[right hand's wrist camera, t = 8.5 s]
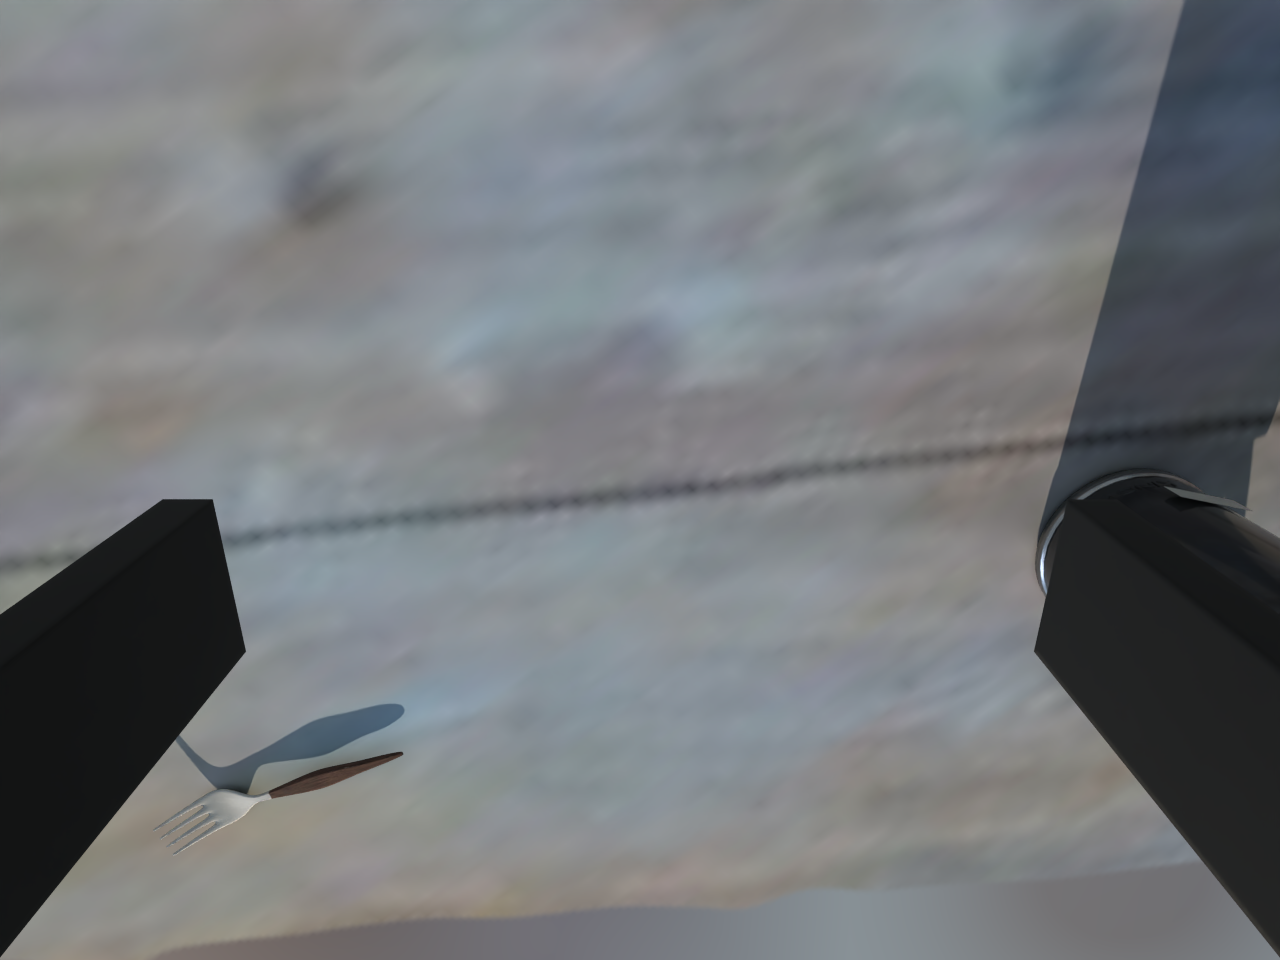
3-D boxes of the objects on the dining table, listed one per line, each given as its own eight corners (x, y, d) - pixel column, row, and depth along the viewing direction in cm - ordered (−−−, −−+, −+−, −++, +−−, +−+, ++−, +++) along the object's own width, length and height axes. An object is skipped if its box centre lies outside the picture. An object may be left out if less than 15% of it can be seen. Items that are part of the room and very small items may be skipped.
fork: (415, 763, 49) (406, 787, 47) (191, 833, 51) (174, 858, 49) (395, 731, 48) (385, 754, 46) (168, 803, 50) (150, 828, 48)
